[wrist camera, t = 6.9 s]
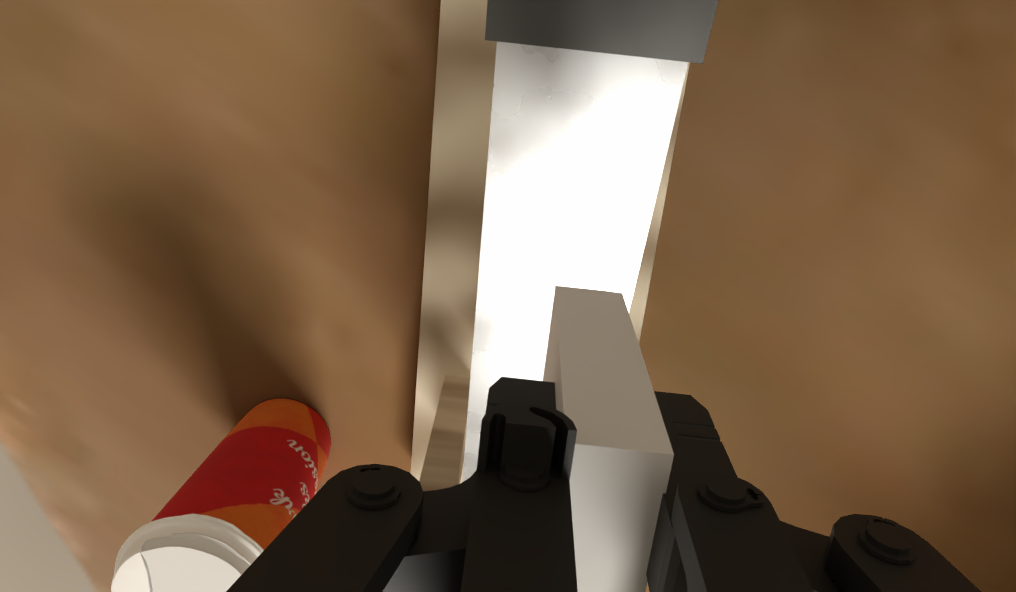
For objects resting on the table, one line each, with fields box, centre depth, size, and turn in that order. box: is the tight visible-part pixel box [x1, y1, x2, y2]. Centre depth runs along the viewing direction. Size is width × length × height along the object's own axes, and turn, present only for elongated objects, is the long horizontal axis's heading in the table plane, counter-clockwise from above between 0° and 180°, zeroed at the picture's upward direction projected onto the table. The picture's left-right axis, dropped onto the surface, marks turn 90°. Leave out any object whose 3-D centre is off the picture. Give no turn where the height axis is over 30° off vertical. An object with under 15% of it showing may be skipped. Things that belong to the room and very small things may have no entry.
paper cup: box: [111, 398, 331, 592], centre depth 39 cm, size 8×8×14 cm
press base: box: [411, 0, 690, 491], centre depth 33 cm, size 32×12×14 cm, turn 174°
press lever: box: [462, 0, 718, 482], centre depth 25 cm, size 27×6×3 cm, turn 175°
